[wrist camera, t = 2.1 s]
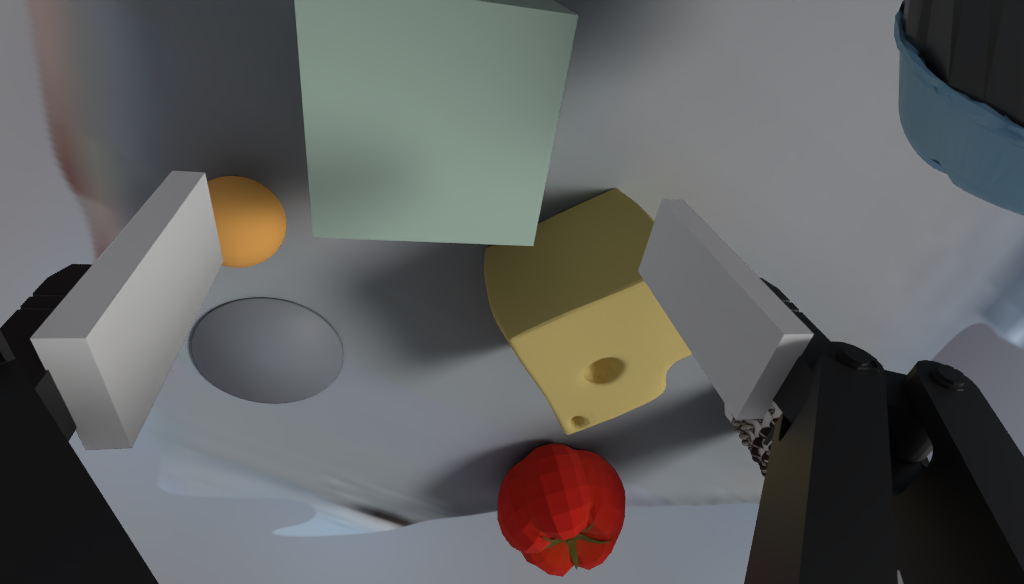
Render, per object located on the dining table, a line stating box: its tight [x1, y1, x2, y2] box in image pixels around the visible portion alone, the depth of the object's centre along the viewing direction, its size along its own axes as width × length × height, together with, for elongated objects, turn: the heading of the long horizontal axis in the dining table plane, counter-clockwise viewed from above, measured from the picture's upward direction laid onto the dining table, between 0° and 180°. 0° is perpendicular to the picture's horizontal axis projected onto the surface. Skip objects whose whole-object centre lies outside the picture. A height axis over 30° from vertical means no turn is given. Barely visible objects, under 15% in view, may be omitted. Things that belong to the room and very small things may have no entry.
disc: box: [191, 298, 343, 404], centre depth 38 cm, size 10×10×1 cm
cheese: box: [484, 188, 692, 435], centre depth 34 cm, size 10×11×10 cm
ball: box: [207, 176, 286, 267], centre depth 29 cm, size 5×5×5 cm
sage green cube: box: [294, 0, 579, 246], centre depth 25 cm, size 10×10×9 cm
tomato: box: [497, 443, 625, 576], centre depth 48 cm, size 11×12×9 cm
